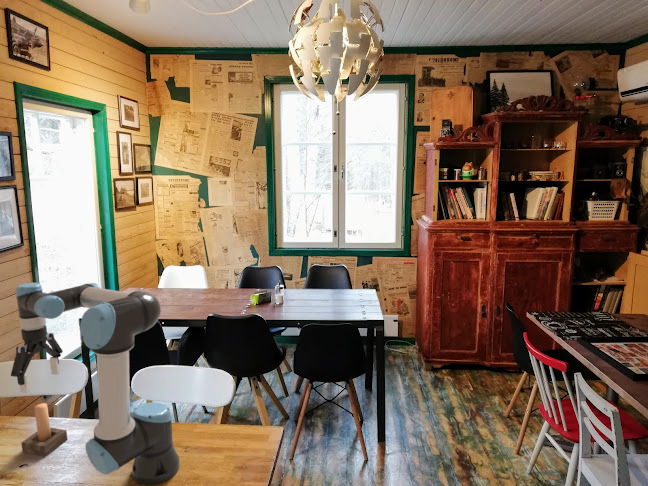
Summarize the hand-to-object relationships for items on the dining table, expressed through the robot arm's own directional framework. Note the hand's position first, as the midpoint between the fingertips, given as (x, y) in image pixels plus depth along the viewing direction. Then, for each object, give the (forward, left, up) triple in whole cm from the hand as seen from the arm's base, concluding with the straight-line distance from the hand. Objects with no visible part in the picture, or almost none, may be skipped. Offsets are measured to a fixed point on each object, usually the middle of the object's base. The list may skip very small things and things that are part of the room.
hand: (40, 382), depth 164 cm
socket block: (+1, +1, -25) cm, 25 cm away
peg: (+1, +1, -25) cm, 25 cm away
